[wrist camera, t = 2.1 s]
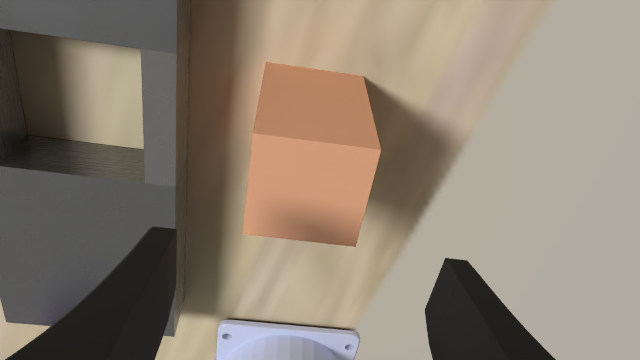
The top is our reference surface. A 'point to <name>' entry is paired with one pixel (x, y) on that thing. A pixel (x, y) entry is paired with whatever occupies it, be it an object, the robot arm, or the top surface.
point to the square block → (311, 156)
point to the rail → (91, 162)
